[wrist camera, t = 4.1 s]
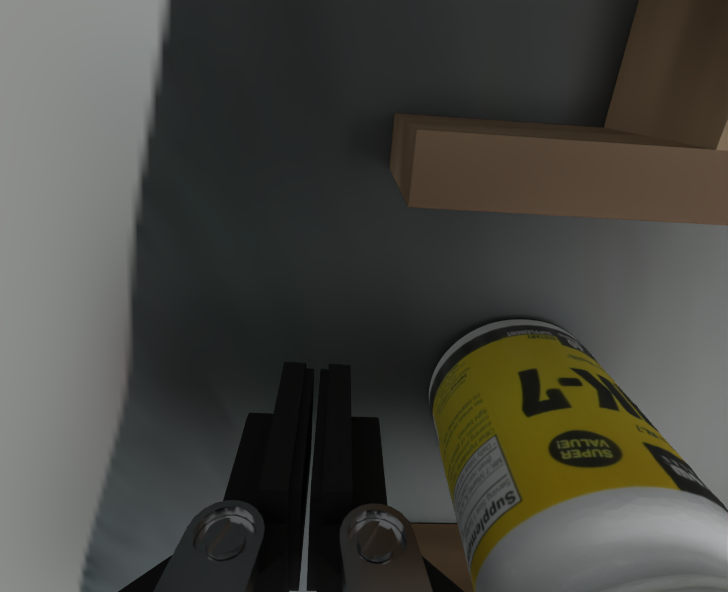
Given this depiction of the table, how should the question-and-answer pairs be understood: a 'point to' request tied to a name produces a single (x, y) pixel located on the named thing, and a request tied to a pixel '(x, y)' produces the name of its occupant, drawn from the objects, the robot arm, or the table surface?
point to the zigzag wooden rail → (588, 159)
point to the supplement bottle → (566, 473)
